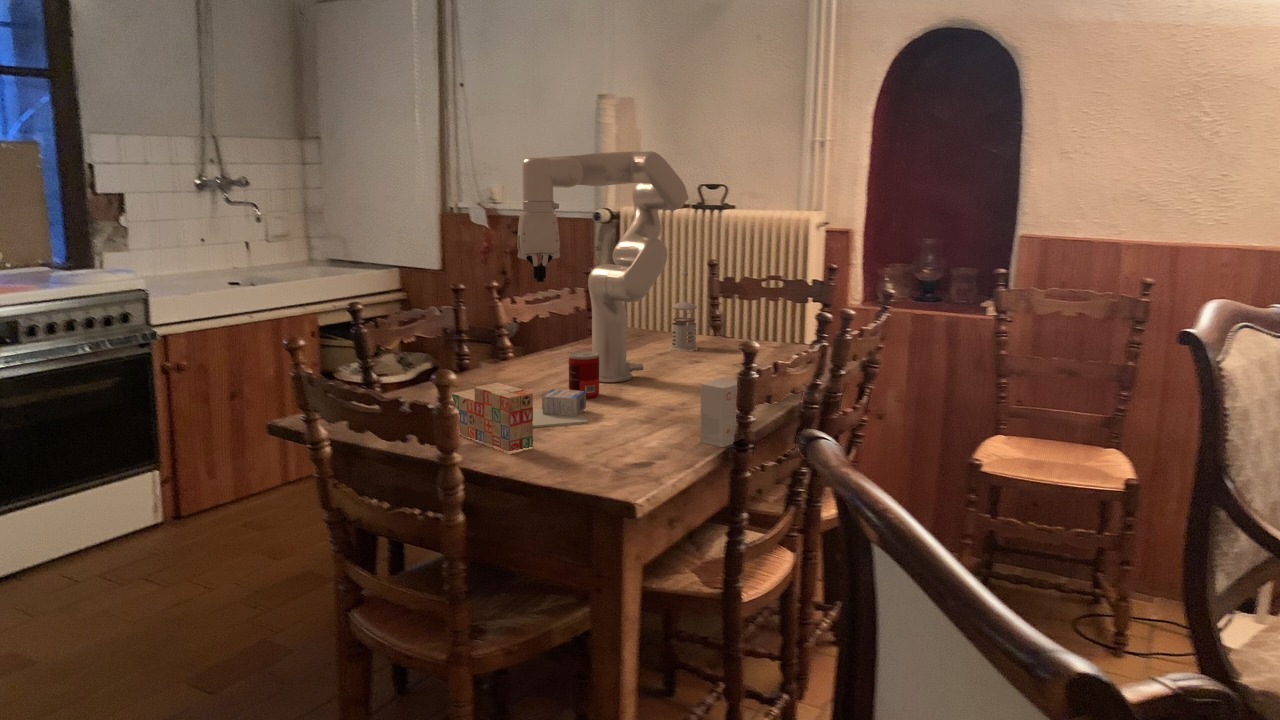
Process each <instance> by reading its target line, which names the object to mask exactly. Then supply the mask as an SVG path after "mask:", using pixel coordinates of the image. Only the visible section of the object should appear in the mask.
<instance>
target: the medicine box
mask: <svg viewBox="0 0 1280 720" xmlns="http://www.w3.org/2000/svg"><path fill="white" fill-rule="evenodd" d="M586 407H587V399H586V392H585V391H574V390H569V389H554V388H552V389H551V390H550V391H548V392H546V393H545V394H544V395H543V396H542V397H541V409H542V412H543V414H547V415H563V416H577V415H578V414H579V413H580V414H581V413H582V412H583V411H584V410H585V409H586Z"/></svg>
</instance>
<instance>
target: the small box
mask: <svg viewBox="0 0 1280 720" xmlns="http://www.w3.org/2000/svg"><path fill="white" fill-rule="evenodd" d="M737 380H738V379H732V378H726V377H721V378H718V379H714V380H710V381H706V382H703V383H700V423H699V424H700V430H699V431H700V433H699V434H700V435H699V436H700V437H699V439H700V440H699V442H700V443H701V444H705V445H709V446H715V447H719V448H726V447H728V446H730V445H733V441H734V434H735V429H736V394H737Z"/></svg>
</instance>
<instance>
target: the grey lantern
mask: <svg viewBox="0 0 1280 720" xmlns="http://www.w3.org/2000/svg"><path fill="white" fill-rule="evenodd" d="M688 275H689V273H688V272H687V271H683V272H682V273H681V276H683V279H684V281H683V283H684V286H683V287H684V288H683V289H684V290H683V301H681V302H677V303H674V304H673V305H672V306H671V308H672V309H674V310H679V311H683V316H682V317H681V316H679V317H678V316H677V317H673V319H672V321H674V322H672V323H671V345H670V346H669V347H670V349H673V350H680V351H679V352H685V351H686V352H690V351H689V350H696V349H698V348H699V347H698V346H697V343H696V340H697V329H696V328H697V324H696V323H695V321H696V319H695V318H694V317H693V314H692V311H693V310H696V309H697V308H698V307H697V305H695V304H694V303H692V302H688V301H686V300H685V299H686V298H685V297H686V276H688ZM687 311H689V312H687ZM689 314H690V317H688V315H689ZM685 315H686V316H685ZM670 349H669V350H670ZM673 350H672V351H673ZM698 350H699V349H698ZM696 351H697V350H696Z"/></svg>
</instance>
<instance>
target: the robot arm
mask: <svg viewBox="0 0 1280 720" xmlns="http://www.w3.org/2000/svg"><path fill="white" fill-rule="evenodd" d="M625 184H626V185H627V184H628V185H629V184H635V185H634V187H633V189H632V203H633V208H634V216H633V220H632V222H631V224H630V226H628V228H627V230H626V231H625V233H624V234H623V235H622V236H621V238H620V239H619V240H618V242H617V243H616V245H615V247H614V248H613V251H612V260H613V263H614V264H610V263H603V264H599V265H596V266H594V268H593V269H592V270H591V271H590V273H589V274H588V278H587V279H588V280H587V283H588V284H587V285H588V286H587V287H588V293H589V297H590V302H591V351H592V352H597V353H599V383H623V382H626V381H629V380H631V379H632V377H633V374H632V372H633V371H636V372H638V371H644V364H643V363H636V362H629V361H628V360H627V326H628V325H627V324H628V323H627V321H628V320H627V311H626V308H625V304H624V302H625V303H626V302H627V303H637V302H639V301H641V300H642V299H643V298H644V297H645V296H646V295H647V294H648V292H649V291H650V290H651V288H652V286H653V285H654V284H655V282H656V281H657V279H658V278H659V276H660V274H661V273H662V272H663V270H664V269H665V267H666V264H667V260H668V249H667V246H666V244H665V243H664V242H663V241H662V240H661V239H660V238H659V237H660V235H661V231H662V225H661V221H660V217H659V212H658V210H659V211H662V210H663V211H676V210H679V209H682V207H684V206H685V204H686V202H687V198H688V191H687V187H686V185H685V183H684V181H683V180H682V178H681V177H680V176H679V175H678V174H677V172H676V171H675V170H674V168H672V166H671V165H670V163H668V161H667V160H666V159H665V158H664V157H663V156H662V155H661V154H659V153H658V152H656V151H652V150H651V151H647V150H646V151H618V152H614V151H613V152H598V153H597V152H596V153H586V154H578V155H568V156H565V155H563V156H546V157H545V156H544V157H527V158H525V159H524V160H523V161H522V207H523V208H522V209H523V210H522V212H523V213H520V214H519V217H518V218H519V219H518V225H517V251H518V252H517V258H518V259H520V260H521V259H522V260H525V261H527V262H529V264H530V265H531V266H532V279H533V280H534V281H535V282H536V283H544V282H545V281H544V280H545V279H546V277H547V275H546V273H547V272H546V271H547V270H546V269H547V268H546V267H547V265H548V264H549V263H550V262H551V261H552V260H554V259H559V258H560V257H561V254H560V253H561V252H560V247H561V244H560V230H559V223H558V218H557V214H556V213H554V212H555V210H558V209H560V204H559V203H556V202H555V201H554V188H564V189H565V188H573V187H575V186H588V187H589V186H590V187H598V186H599V187H604V186H613V185H614V186H615V185H625ZM537 255H540V262H539V261H538V256H537Z"/></svg>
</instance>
